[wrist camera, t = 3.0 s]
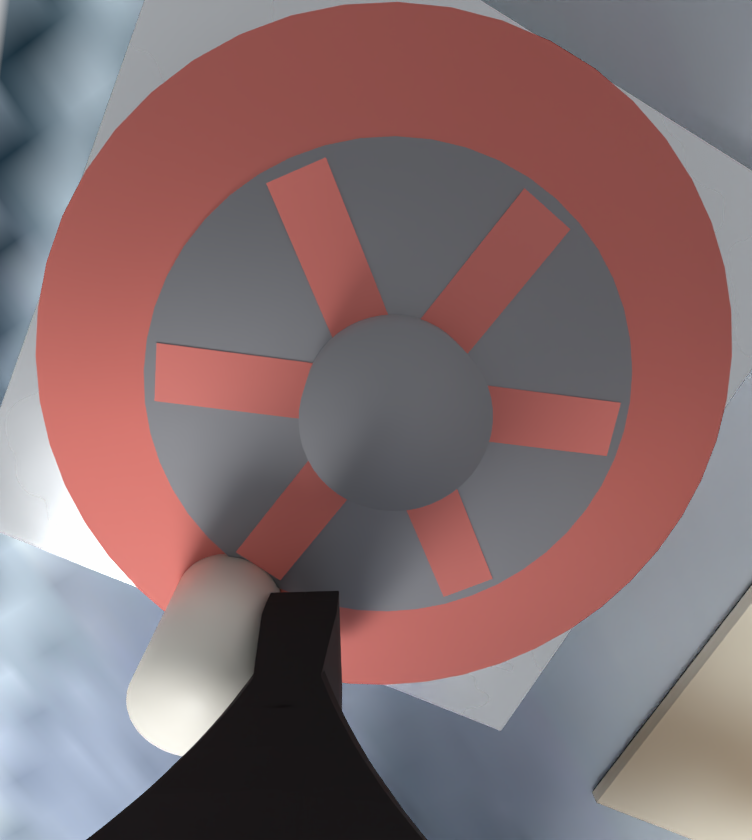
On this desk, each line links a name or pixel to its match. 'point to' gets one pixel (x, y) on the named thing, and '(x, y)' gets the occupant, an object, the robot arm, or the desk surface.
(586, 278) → the handwheel
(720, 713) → the birch base board
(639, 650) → the desk surface
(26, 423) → the wheel plate
